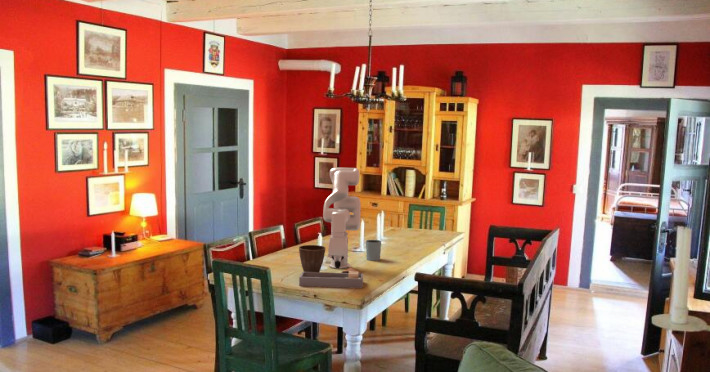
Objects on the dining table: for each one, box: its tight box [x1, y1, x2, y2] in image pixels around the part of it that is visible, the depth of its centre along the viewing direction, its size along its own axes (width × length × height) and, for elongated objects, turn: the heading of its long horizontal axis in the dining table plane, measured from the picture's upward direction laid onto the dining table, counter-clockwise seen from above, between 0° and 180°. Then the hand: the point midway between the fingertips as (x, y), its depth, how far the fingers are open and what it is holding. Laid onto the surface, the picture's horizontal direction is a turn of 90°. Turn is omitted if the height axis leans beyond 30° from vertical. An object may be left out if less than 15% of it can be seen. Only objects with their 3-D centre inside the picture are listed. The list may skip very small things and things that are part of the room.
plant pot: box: [298, 244, 326, 272], centre depth 316 cm, size 15×15×16 cm
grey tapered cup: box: [365, 239, 382, 262], centre depth 360 cm, size 10×10×12 cm
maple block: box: [348, 271, 360, 279], centre depth 298 cm, size 5×5×4 cm
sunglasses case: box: [341, 266, 363, 274], centre depth 317 cm, size 18×7×7 cm
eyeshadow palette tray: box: [298, 271, 364, 289], centre depth 300 cm, size 12×33×4 cm, turn 88°
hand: (337, 268), depth 300 cm, fingers closed
